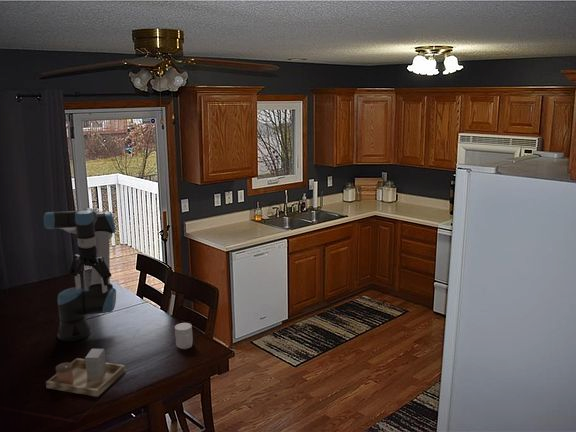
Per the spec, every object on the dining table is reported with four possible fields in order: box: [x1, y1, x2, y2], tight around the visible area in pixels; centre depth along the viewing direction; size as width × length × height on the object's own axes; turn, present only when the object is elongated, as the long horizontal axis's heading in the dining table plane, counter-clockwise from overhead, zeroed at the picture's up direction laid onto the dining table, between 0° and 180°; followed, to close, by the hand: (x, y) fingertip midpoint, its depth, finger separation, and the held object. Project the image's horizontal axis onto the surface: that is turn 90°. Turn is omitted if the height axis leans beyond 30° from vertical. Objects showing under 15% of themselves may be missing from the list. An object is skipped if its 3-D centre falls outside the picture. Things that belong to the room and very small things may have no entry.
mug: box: [174, 322, 194, 350], centre depth 252 cm, size 12×9×8 cm
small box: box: [84, 348, 107, 380], centre depth 225 cm, size 8×6×10 cm
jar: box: [55, 361, 74, 385], centre depth 219 cm, size 6×6×8 cm
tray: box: [45, 357, 126, 398], centre depth 223 cm, size 24×20×4 cm
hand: (91, 290), depth 240 cm, fingers open, 13 cm apart
